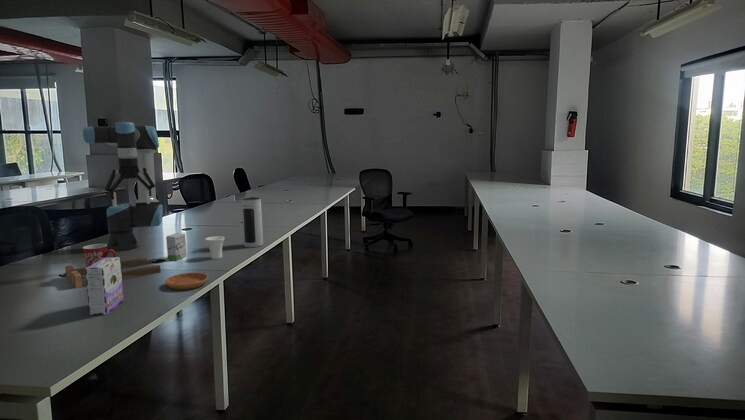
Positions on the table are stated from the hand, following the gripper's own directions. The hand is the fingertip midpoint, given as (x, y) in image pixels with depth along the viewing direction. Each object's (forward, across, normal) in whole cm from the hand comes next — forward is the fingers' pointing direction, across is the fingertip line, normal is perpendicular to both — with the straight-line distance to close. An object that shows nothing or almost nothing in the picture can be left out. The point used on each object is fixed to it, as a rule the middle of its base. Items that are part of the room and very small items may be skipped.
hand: (132, 205), depth 214 cm
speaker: (+29, +59, +2) cm, 66 cm away
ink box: (+29, +18, +1) cm, 34 cm away
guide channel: (+28, -10, -8) cm, 31 cm away
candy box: (+27, -23, -51) cm, 62 cm away
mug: (+28, -16, -9) cm, 34 cm away
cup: (+29, +34, -10) cm, 45 cm away
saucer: (+28, +7, -44) cm, 52 cm away
